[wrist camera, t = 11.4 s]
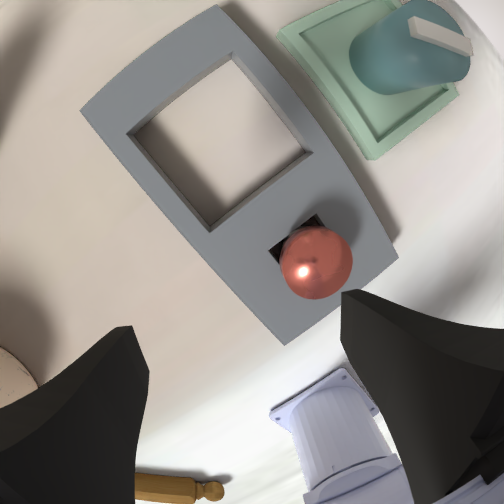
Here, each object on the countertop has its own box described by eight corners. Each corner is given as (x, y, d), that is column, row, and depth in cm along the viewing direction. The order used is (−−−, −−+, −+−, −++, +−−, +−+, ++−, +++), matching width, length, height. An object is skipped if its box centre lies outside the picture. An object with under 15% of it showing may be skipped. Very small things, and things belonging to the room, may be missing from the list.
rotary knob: (404, 39, 15) (467, 13, 9) (411, 99, 17) (482, 89, 10) (345, 26, 15) (399, -17, 8) (352, 90, 16) (416, 68, 10)
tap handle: (5, 453, 22) (225, 496, 25) (12, 438, 24) (223, 476, 28) (14, 465, 22) (225, 505, 26) (21, 450, 25) (223, 486, 29)
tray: (449, 96, 17) (459, 94, 16) (366, 159, 18) (375, 160, 17) (377, -11, 14) (385, -16, 13) (275, 36, 15) (279, 29, 14)
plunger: (342, 251, 20) (364, 270, 17) (295, 287, 20) (309, 312, 17) (310, 204, 19) (329, 215, 15) (259, 243, 19) (268, 262, 16)
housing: (387, 250, 21) (398, 257, 19) (280, 333, 22) (284, 345, 20) (216, 15, 14) (216, 4, 13) (89, 113, 15) (79, 110, 14)
